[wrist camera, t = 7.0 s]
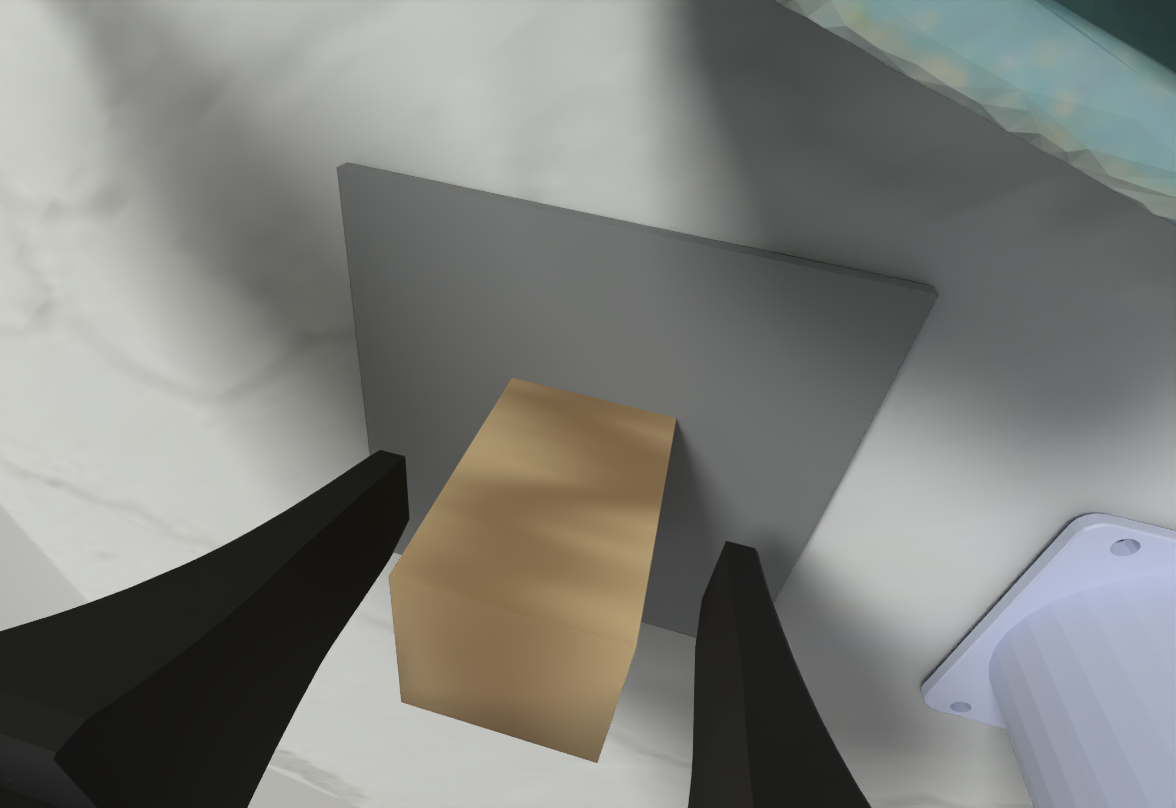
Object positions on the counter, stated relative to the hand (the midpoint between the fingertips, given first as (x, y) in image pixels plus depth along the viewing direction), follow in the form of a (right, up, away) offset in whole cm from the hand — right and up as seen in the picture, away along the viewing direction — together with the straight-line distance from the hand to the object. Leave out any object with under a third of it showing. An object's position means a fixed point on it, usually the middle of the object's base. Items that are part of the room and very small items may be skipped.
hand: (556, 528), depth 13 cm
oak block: (+1, +1, +2) cm, 3 cm away
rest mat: (+1, +2, +2) cm, 3 cm away
